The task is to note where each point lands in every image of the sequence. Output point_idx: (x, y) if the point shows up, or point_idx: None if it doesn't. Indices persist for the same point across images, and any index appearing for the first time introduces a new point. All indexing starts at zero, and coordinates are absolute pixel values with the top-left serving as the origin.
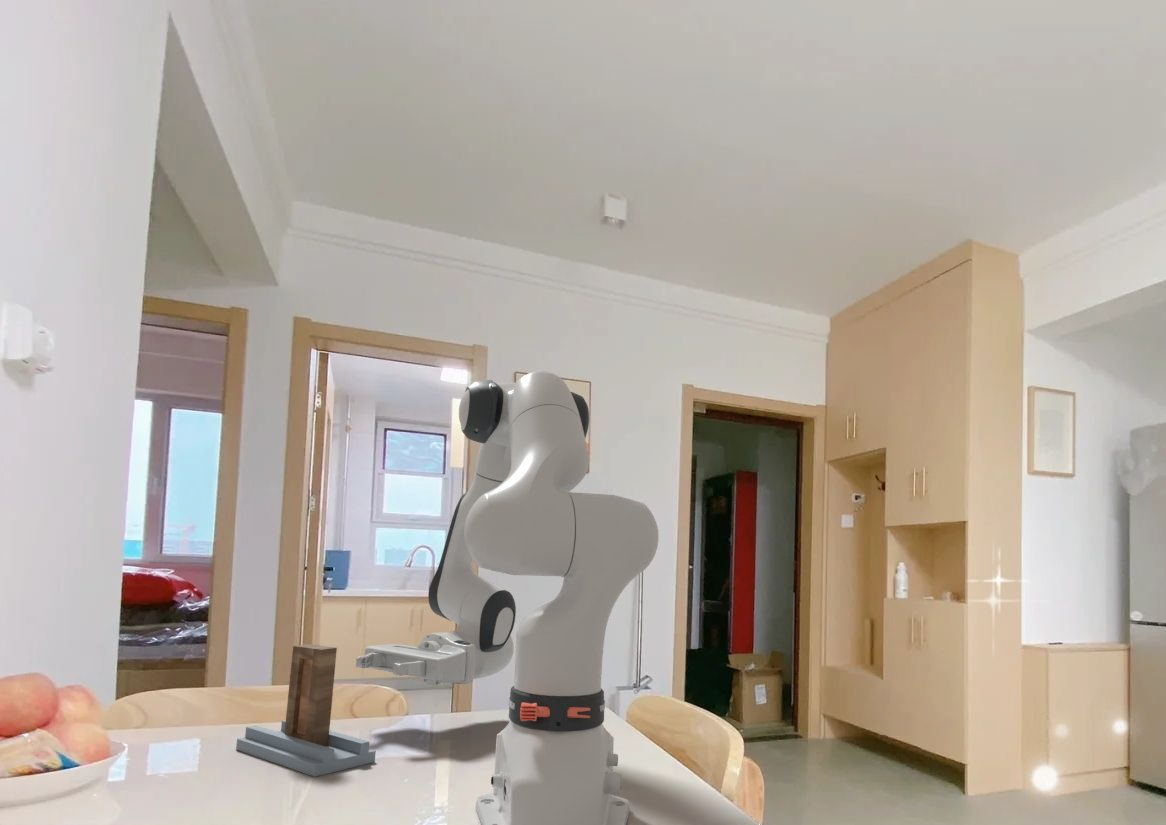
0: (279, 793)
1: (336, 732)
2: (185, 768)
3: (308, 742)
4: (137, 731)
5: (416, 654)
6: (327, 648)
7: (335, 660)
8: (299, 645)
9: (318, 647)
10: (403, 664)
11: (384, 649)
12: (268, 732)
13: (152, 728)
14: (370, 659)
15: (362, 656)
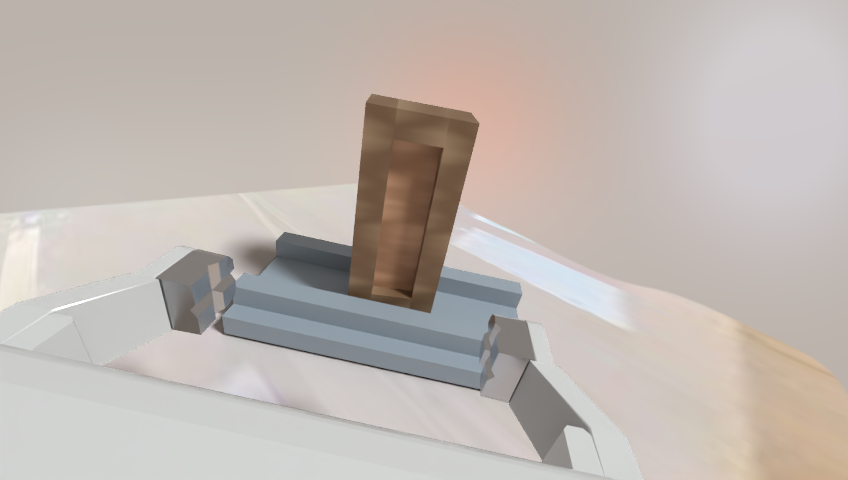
0: (299, 220)
1: (349, 310)
2: (468, 244)
3: (345, 253)
4: (712, 319)
5: (58, 378)
6: (375, 99)
7: (363, 138)
8: (469, 115)
9: (406, 104)
10: (162, 257)
11: (560, 477)
12: (456, 272)
13: (733, 338)
14: (555, 426)
15: (531, 335)
